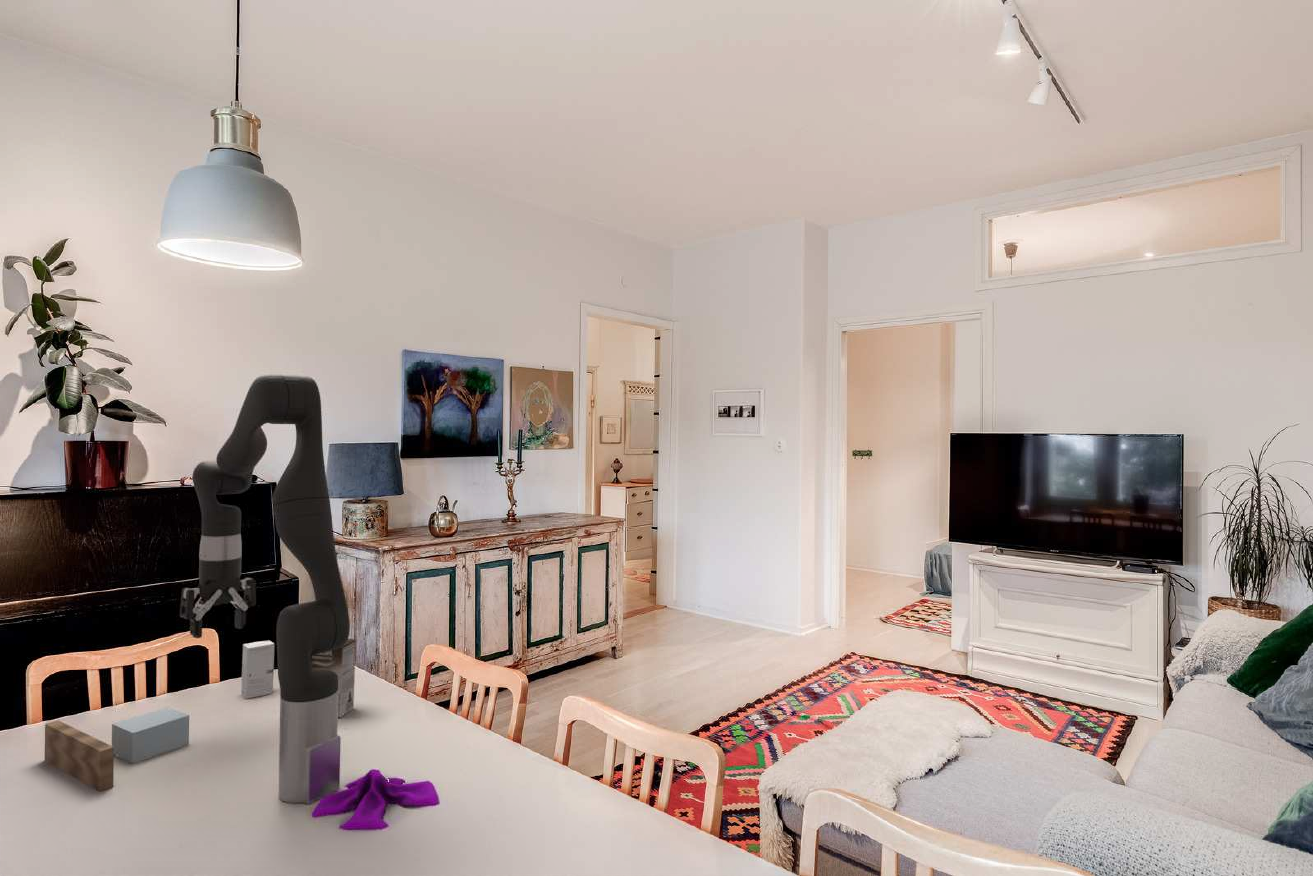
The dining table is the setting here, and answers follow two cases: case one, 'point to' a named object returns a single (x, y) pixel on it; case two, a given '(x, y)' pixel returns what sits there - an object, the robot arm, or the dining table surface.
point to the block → (150, 734)
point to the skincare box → (257, 669)
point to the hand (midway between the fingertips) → (218, 632)
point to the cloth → (374, 800)
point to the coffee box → (340, 672)
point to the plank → (79, 755)
